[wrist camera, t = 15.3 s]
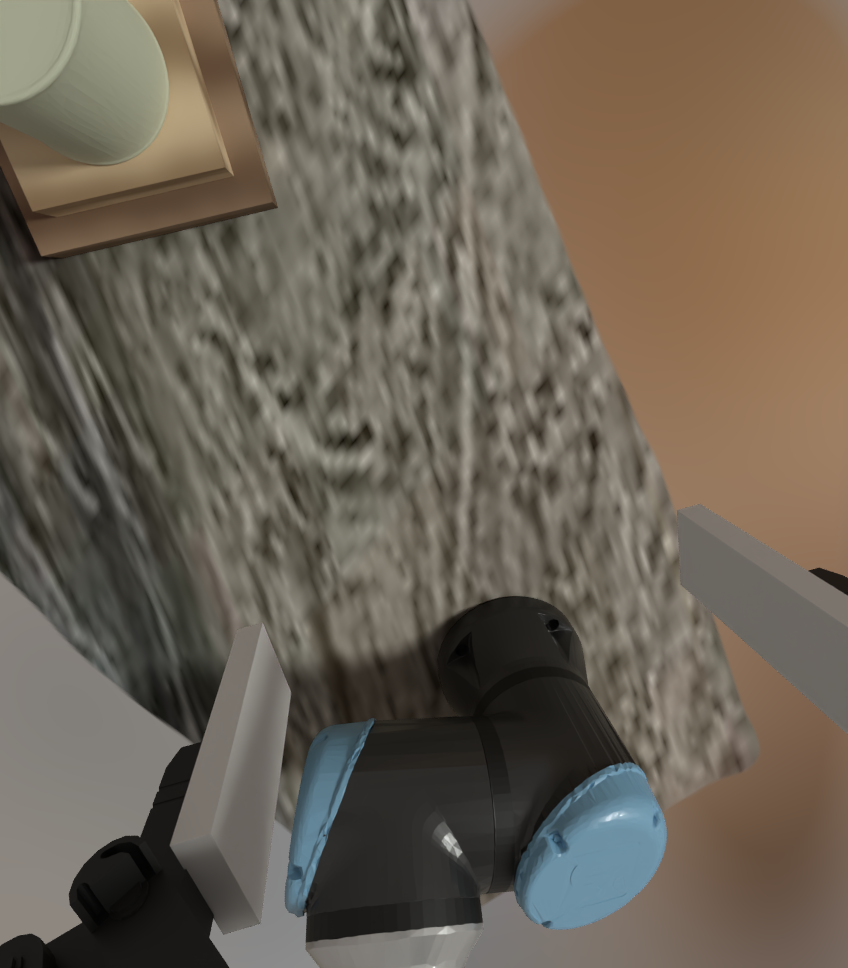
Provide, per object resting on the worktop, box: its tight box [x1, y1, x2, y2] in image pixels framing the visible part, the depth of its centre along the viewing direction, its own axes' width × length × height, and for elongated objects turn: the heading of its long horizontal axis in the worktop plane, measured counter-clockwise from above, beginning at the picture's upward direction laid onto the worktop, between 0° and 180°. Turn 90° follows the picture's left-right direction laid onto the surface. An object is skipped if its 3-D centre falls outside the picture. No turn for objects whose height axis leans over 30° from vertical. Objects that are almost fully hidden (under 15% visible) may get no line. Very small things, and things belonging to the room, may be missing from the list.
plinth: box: [0, 0, 278, 258], centre depth 34 cm, size 16×16×6 cm
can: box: [0, 0, 169, 165], centre depth 25 cm, size 9×9×12 cm
